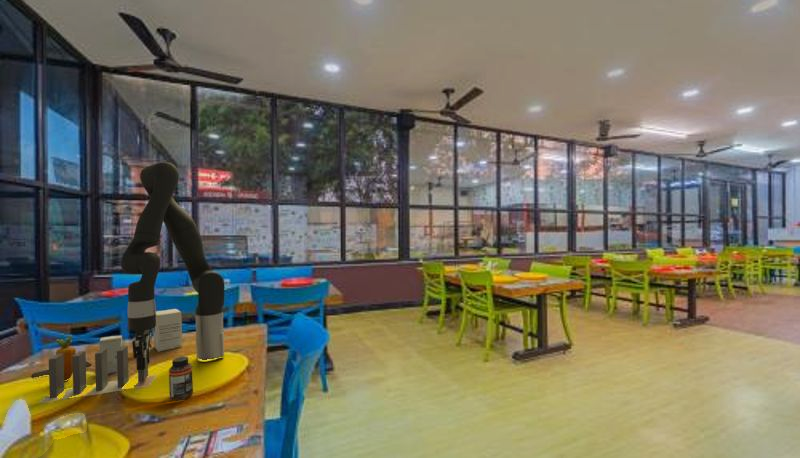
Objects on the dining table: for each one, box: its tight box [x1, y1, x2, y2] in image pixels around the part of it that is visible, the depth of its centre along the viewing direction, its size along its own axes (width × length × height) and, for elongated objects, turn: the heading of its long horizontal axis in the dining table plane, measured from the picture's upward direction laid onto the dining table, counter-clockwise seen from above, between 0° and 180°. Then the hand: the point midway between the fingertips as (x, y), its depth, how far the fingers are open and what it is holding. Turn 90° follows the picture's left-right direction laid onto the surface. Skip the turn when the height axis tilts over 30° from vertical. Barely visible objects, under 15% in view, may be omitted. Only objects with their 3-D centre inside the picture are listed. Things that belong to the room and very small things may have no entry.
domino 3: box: [116, 345, 130, 388], centre depth 119 cm, size 2×5×12 cm, turn 22°
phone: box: [31, 360, 92, 378], centre depth 133 cm, size 7×1×15 cm
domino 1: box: [72, 350, 87, 395], centre depth 114 cm, size 2×5×12 cm, turn 22°
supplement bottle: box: [168, 355, 194, 401], centre depth 110 cm, size 6×6×11 cm
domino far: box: [48, 353, 65, 398], centre depth 112 cm, size 2×5×12 cm, turn 23°
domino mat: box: [38, 374, 157, 404], centre depth 117 cm, size 27×10×1 cm, turn 112°
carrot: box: [55, 334, 77, 380], centre depth 123 cm, size 5×5×15 cm
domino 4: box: [137, 345, 149, 382], centre depth 121 cm, size 2×5×12 cm, turn 22°
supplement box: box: [153, 308, 183, 353], centre depth 158 cm, size 9×9×15 cm
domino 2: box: [94, 348, 109, 391], centre depth 117 cm, size 2×5×12 cm, turn 22°
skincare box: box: [99, 334, 123, 375], centre depth 131 cm, size 6×4×12 cm
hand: (143, 366), depth 121 cm, fingers closed on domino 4, 4 cm apart
